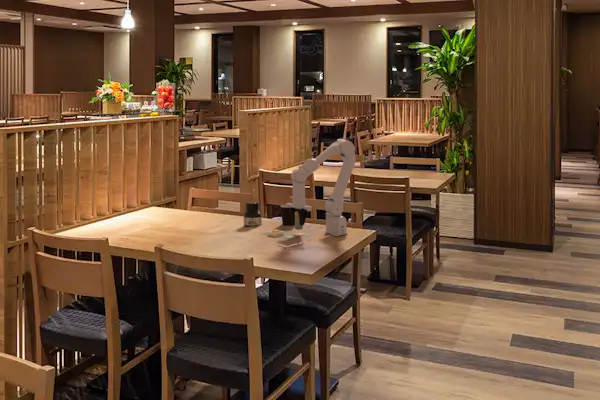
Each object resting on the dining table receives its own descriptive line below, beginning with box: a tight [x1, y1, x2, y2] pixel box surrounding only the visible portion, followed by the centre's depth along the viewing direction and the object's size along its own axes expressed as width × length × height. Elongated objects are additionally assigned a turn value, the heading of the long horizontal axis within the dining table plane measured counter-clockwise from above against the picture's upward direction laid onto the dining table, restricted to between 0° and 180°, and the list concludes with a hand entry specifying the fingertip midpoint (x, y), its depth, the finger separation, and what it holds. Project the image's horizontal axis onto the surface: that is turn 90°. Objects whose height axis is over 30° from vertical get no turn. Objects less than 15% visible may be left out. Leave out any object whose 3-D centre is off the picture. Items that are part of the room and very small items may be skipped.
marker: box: [294, 211, 304, 231], centre depth 294 cm, size 4×4×8 cm
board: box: [261, 227, 314, 241], centre depth 296 cm, size 19×16×2 cm
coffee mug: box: [280, 204, 295, 227], centre depth 319 cm, size 12×9×10 cm
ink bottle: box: [243, 200, 263, 228], centre depth 317 cm, size 10×9×12 cm
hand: (298, 224), depth 294 cm, fingers closed on marker, 4 cm apart
